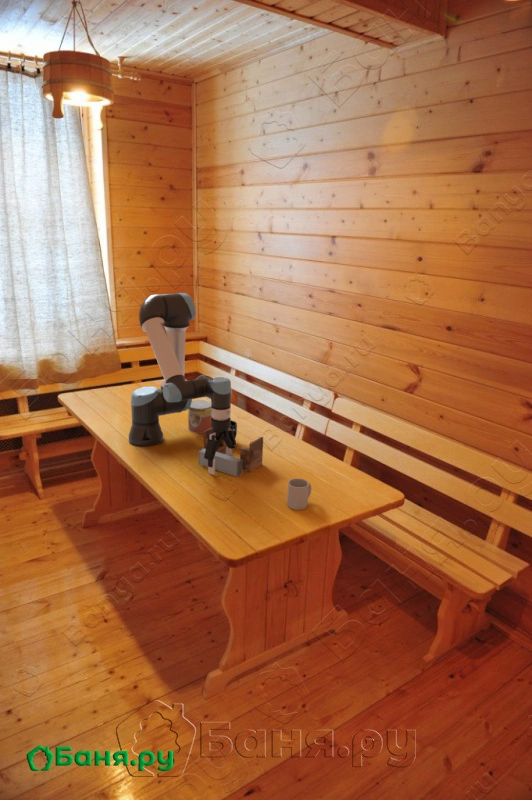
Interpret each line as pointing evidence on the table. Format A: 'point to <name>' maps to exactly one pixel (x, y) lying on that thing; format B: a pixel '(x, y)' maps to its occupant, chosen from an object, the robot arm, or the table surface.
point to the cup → (298, 493)
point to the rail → (223, 463)
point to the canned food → (199, 416)
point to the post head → (222, 445)
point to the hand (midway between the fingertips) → (220, 468)
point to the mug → (234, 428)
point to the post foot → (252, 455)
